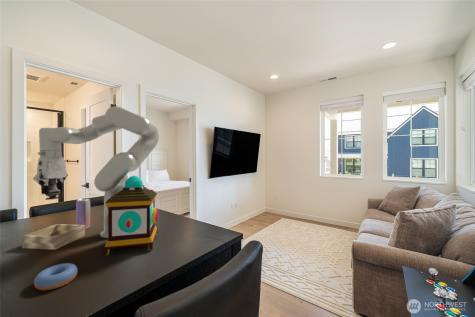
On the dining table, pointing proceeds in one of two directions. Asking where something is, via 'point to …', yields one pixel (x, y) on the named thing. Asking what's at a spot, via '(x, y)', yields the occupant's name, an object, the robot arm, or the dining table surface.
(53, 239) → the box
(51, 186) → the salt shaker
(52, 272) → the doughnut
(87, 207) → the beverage can
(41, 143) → the robot arm
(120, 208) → the decorative lantern
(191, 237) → the dining table surface
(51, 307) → the dining table surface
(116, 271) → the dining table surface
